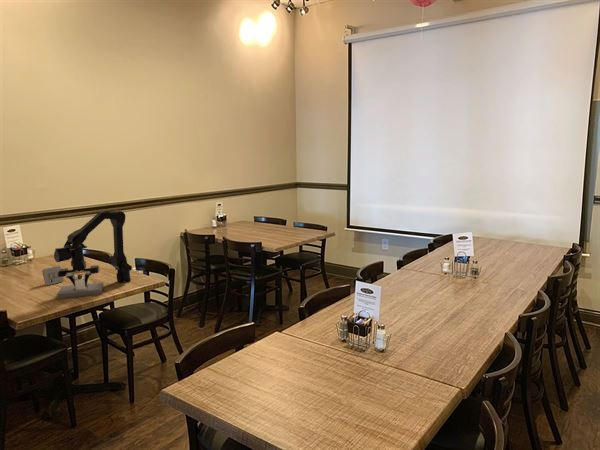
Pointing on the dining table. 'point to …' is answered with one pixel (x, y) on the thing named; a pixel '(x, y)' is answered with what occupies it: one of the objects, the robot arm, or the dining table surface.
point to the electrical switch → (52, 275)
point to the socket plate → (72, 292)
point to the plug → (80, 282)
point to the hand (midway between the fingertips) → (81, 286)
